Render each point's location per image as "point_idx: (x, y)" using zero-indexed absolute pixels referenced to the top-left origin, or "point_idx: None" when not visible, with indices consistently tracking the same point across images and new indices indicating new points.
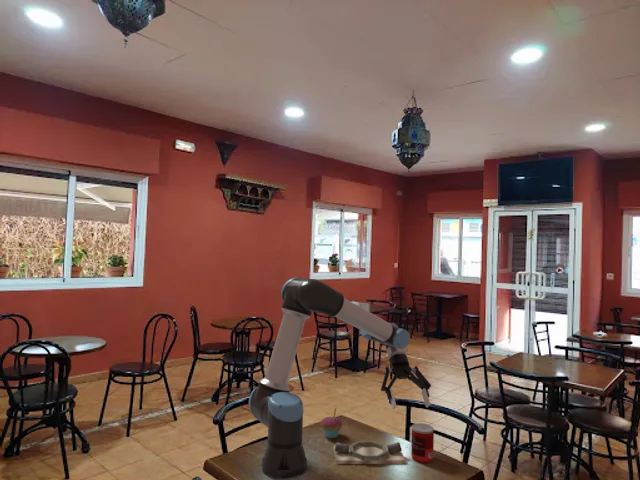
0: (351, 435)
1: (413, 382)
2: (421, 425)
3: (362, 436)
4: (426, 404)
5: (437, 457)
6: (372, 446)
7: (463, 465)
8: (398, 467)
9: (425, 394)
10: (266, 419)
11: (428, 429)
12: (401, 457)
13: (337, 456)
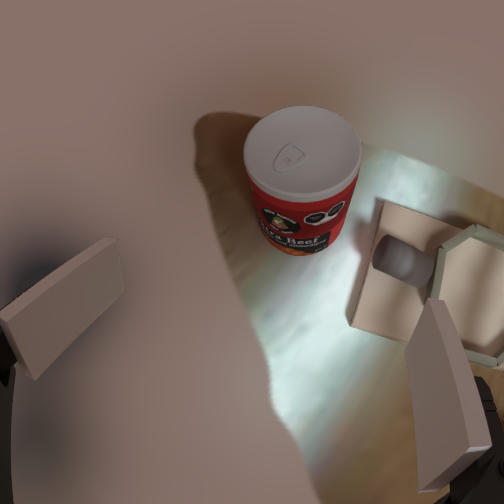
0: (449, 483)
1: (11, 489)
2: (285, 179)
3: None
4: (113, 278)
5: (241, 210)
6: None
7: (203, 148)
8: (412, 195)
9: (56, 281)
10: None
11: (281, 132)
12: (389, 221)
13: None
